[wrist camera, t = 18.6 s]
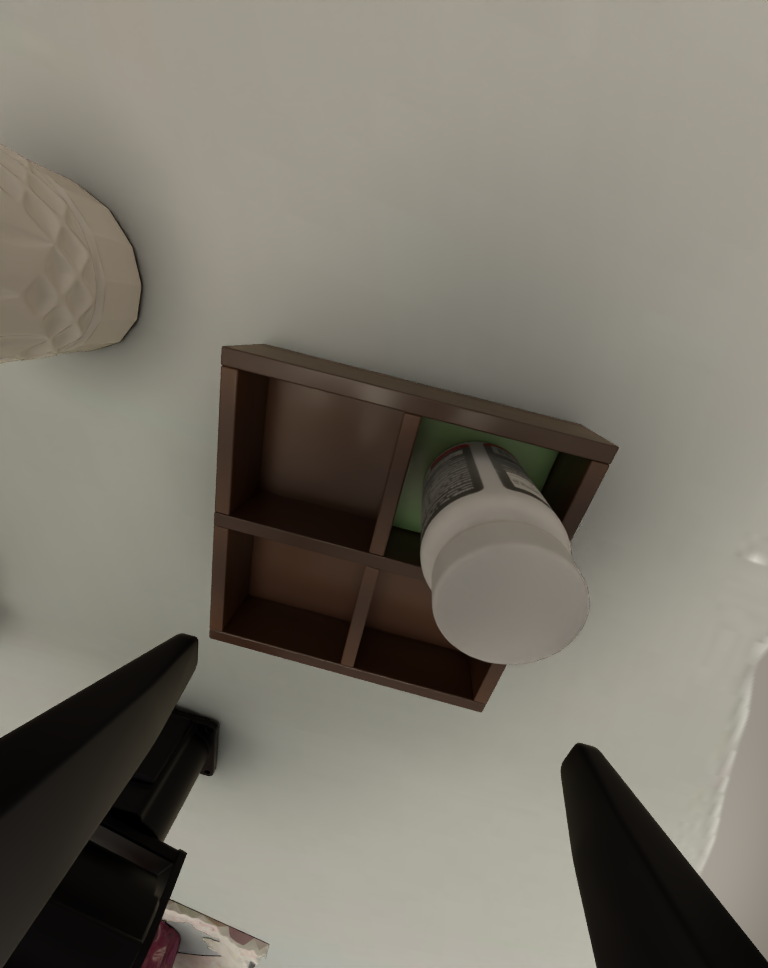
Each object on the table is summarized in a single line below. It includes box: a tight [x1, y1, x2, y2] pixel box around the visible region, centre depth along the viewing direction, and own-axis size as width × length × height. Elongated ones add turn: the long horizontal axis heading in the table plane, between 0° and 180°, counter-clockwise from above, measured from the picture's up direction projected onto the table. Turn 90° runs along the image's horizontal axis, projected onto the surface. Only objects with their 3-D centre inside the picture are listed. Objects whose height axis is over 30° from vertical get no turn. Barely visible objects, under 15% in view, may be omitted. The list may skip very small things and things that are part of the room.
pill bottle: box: [420, 441, 590, 664], centre depth 13 cm, size 5×5×8 cm
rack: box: [209, 344, 618, 712], centre depth 18 cm, size 15×15×4 cm
